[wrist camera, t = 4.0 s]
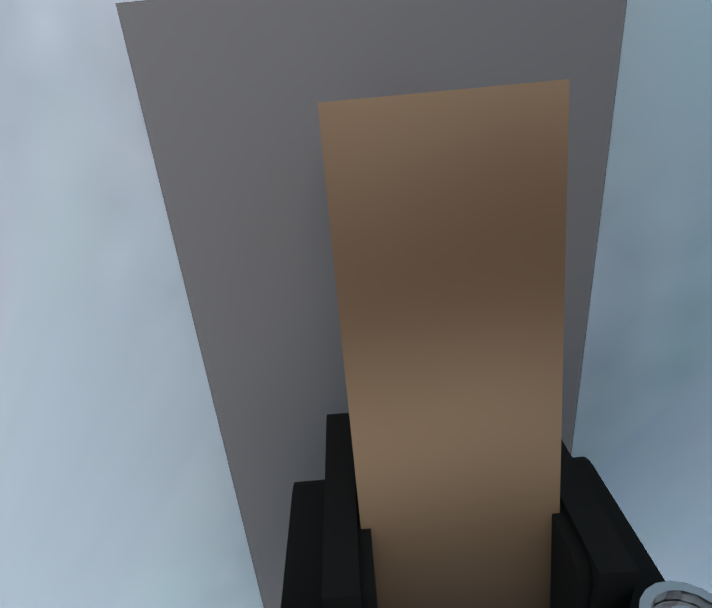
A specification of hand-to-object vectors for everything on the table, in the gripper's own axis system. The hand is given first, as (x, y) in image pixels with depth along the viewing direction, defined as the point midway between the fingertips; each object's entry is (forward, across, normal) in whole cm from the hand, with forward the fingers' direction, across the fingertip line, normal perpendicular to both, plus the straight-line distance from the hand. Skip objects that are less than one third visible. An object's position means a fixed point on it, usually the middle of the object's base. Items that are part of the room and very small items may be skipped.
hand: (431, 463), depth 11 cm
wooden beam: (+1, 0, +2) cm, 2 cm away
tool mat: (+4, 0, +3) cm, 5 cm away
